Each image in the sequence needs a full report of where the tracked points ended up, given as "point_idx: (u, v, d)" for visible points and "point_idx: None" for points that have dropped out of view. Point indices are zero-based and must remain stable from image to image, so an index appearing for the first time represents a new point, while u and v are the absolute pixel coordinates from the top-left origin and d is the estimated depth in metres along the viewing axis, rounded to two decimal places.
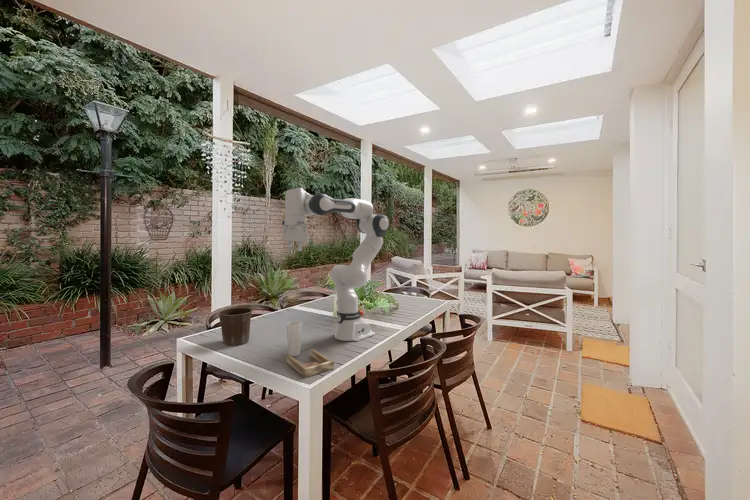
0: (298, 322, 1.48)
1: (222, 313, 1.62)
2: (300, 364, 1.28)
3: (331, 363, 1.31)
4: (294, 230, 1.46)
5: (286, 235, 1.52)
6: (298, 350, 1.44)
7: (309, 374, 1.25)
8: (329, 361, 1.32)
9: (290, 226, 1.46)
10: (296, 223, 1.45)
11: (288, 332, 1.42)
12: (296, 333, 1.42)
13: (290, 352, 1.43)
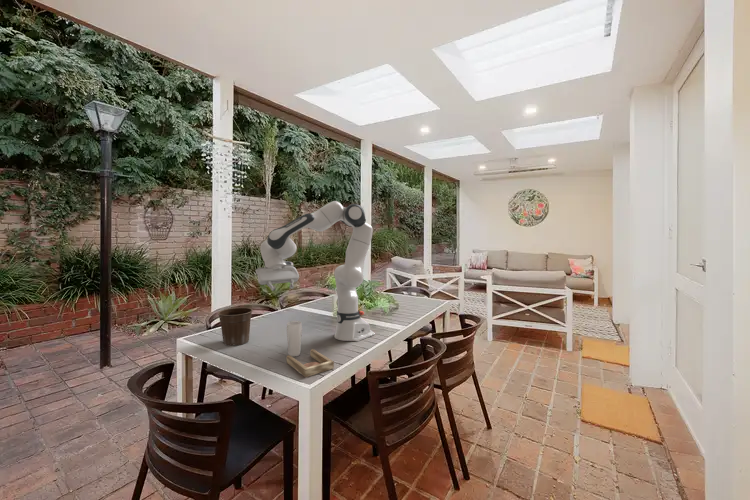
0: (298, 322, 1.48)
1: (222, 313, 1.62)
2: (300, 364, 1.28)
3: (331, 363, 1.31)
4: None
5: None
6: (298, 350, 1.44)
7: (309, 374, 1.25)
8: (329, 361, 1.32)
9: None
10: None
11: (288, 332, 1.42)
12: (296, 333, 1.42)
13: (290, 352, 1.43)
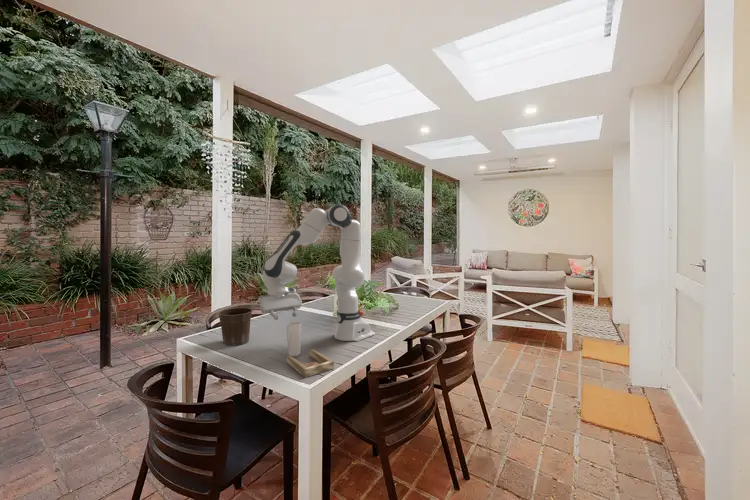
0: (298, 322, 1.48)
1: (222, 313, 1.62)
2: (300, 364, 1.28)
3: (331, 363, 1.31)
4: None
5: None
6: (298, 350, 1.44)
7: (309, 374, 1.25)
8: (329, 361, 1.32)
9: None
10: None
11: (288, 332, 1.42)
12: (296, 333, 1.42)
13: (290, 352, 1.43)
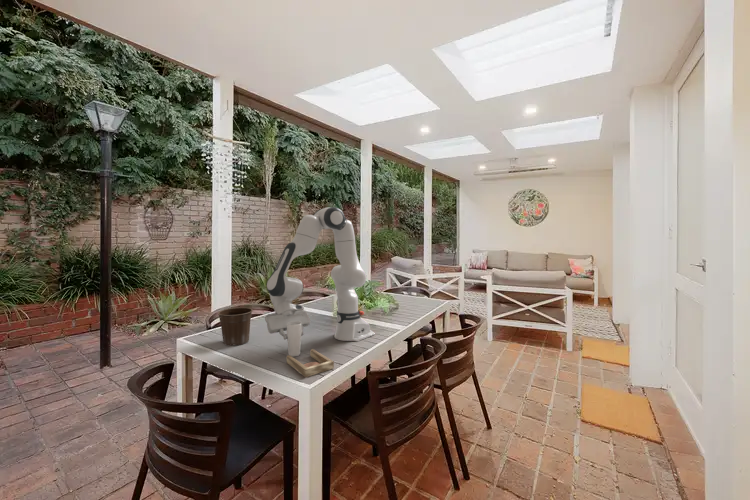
0: (298, 322, 1.47)
1: (222, 313, 1.62)
2: (300, 364, 1.28)
3: (331, 363, 1.31)
4: None
5: None
6: (298, 350, 1.44)
7: (309, 374, 1.25)
8: (329, 361, 1.32)
9: None
10: None
11: (288, 332, 1.42)
12: (296, 333, 1.42)
13: (290, 352, 1.43)
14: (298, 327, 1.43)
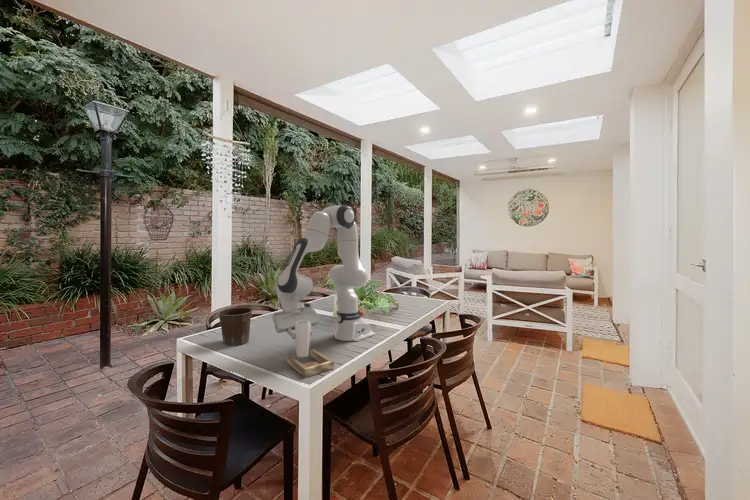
0: (306, 321, 1.41)
1: (222, 313, 1.62)
2: (300, 364, 1.28)
3: (331, 363, 1.31)
4: None
5: None
6: (306, 351, 1.37)
7: (309, 374, 1.25)
8: (329, 361, 1.32)
9: None
10: None
11: (296, 331, 1.36)
12: (305, 333, 1.35)
13: (298, 353, 1.36)
14: (307, 326, 1.36)
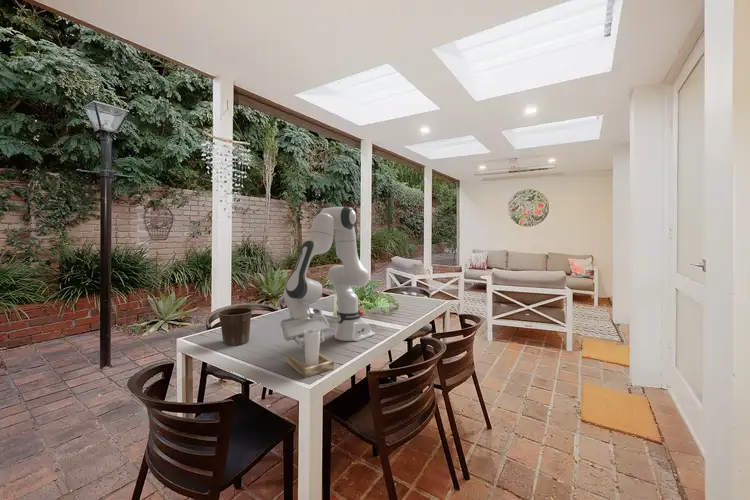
0: (315, 330, 1.34)
1: (222, 313, 1.62)
2: (300, 364, 1.28)
3: (331, 363, 1.31)
4: None
5: None
6: (316, 361, 1.31)
7: (309, 374, 1.25)
8: (329, 361, 1.32)
9: None
10: None
11: (305, 341, 1.29)
12: (315, 343, 1.29)
13: (307, 363, 1.30)
14: (317, 336, 1.29)
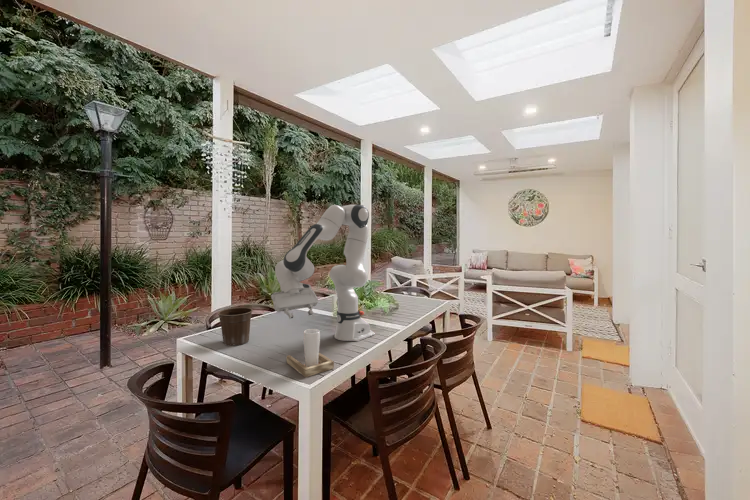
0: (315, 330, 1.34)
1: (222, 313, 1.62)
2: (300, 364, 1.28)
3: (331, 363, 1.31)
4: None
5: None
6: (316, 361, 1.31)
7: (309, 374, 1.25)
8: (329, 361, 1.32)
9: None
10: None
11: (305, 341, 1.29)
12: (315, 343, 1.29)
13: (307, 363, 1.30)
14: (317, 336, 1.29)
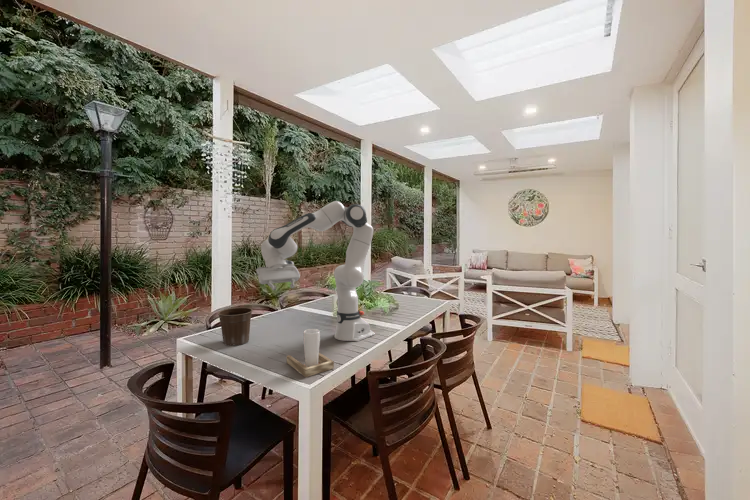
0: (315, 330, 1.34)
1: (222, 313, 1.62)
2: (300, 364, 1.28)
3: (331, 363, 1.31)
4: None
5: None
6: (316, 361, 1.31)
7: (309, 374, 1.25)
8: (329, 361, 1.32)
9: None
10: None
11: (305, 341, 1.29)
12: (315, 343, 1.29)
13: (307, 363, 1.30)
14: (316, 336, 1.29)
